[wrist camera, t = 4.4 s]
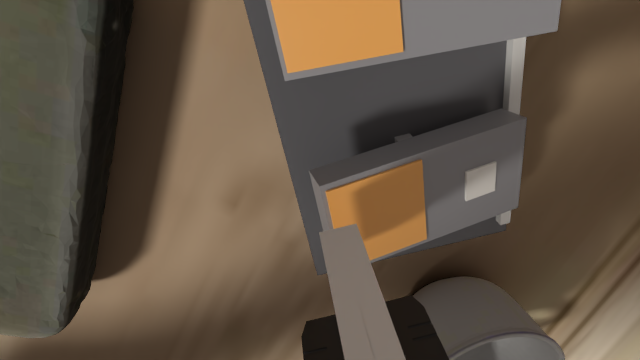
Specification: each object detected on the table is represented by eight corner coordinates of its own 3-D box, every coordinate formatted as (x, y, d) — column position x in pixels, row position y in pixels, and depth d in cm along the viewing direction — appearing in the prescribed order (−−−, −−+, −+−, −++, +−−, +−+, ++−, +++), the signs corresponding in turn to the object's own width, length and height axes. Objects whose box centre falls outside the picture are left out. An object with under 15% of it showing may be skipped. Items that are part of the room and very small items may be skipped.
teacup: (359, 295, 29) (388, 393, 22) (483, 233, 28) (555, 317, 21) (422, 376, 36) (459, 471, 29) (524, 330, 34) (589, 418, 28)
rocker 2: (496, 193, 20) (519, 208, 19) (328, 254, 19) (340, 276, 17) (501, 108, 18) (529, 118, 16) (308, 170, 16) (320, 187, 15)
